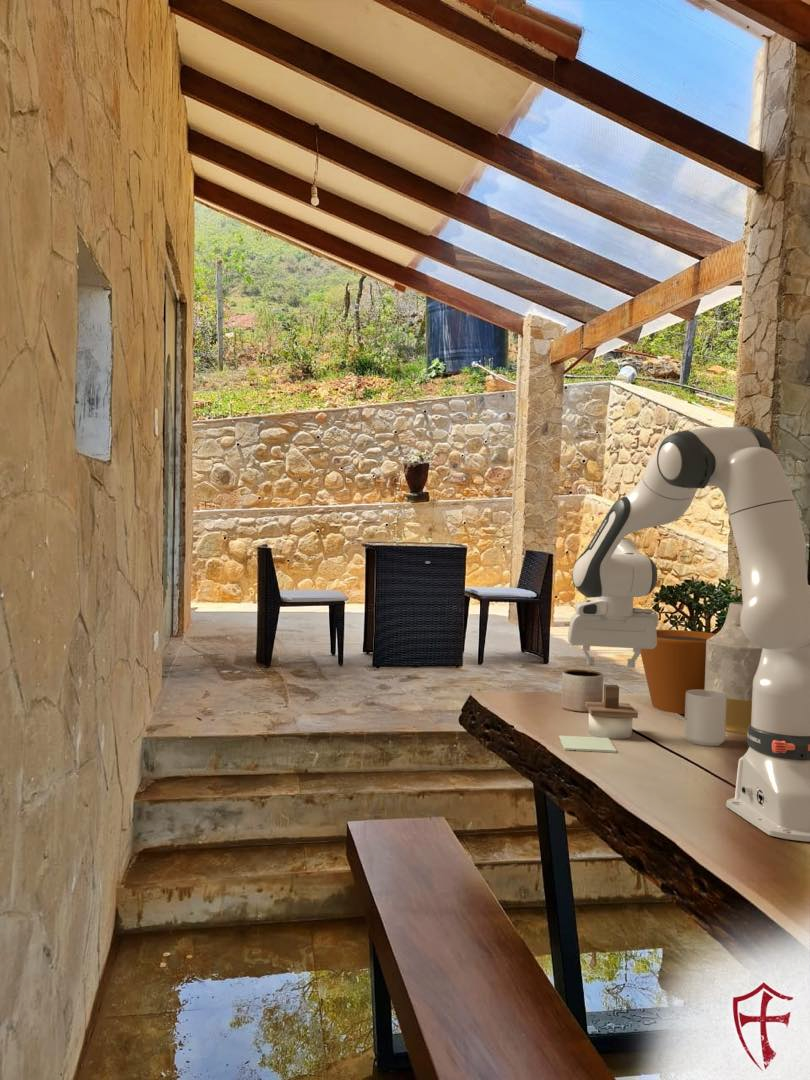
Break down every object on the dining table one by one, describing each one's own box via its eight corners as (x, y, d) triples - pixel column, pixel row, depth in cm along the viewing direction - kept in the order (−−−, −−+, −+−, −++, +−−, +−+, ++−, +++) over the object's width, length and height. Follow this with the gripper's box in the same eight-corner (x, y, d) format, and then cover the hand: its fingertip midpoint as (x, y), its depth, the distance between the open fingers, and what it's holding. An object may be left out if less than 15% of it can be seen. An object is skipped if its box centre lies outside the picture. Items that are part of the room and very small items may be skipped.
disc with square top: (635, 739, 194) (636, 718, 194) (591, 737, 195) (592, 715, 195) (627, 729, 204) (628, 708, 204) (585, 727, 205) (586, 706, 205)
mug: (726, 748, 189) (728, 698, 189) (685, 744, 191) (686, 695, 191) (721, 736, 201) (723, 689, 201) (682, 732, 203) (684, 686, 203)
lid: (637, 718, 194) (638, 691, 194) (591, 716, 195) (592, 689, 195) (628, 708, 204) (629, 682, 204) (585, 706, 205) (586, 680, 205)
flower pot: (616, 701, 237) (618, 630, 237) (684, 697, 246) (686, 628, 246) (674, 720, 215) (677, 642, 215) (746, 715, 224) (749, 639, 224)
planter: (552, 705, 229) (553, 670, 229) (585, 703, 234) (586, 668, 234) (577, 714, 220) (578, 677, 219) (611, 711, 224) (612, 675, 224)
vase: (744, 715, 224) (748, 600, 223) (799, 732, 207) (804, 607, 206) (687, 719, 217) (692, 600, 217) (740, 737, 200) (745, 607, 200)
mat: (616, 752, 182) (616, 750, 182) (564, 750, 183) (564, 747, 183) (607, 740, 193) (608, 737, 193) (559, 737, 194) (559, 735, 194)
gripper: (655, 607, 202) (652, 666, 202) (568, 603, 203) (565, 661, 203) (661, 610, 195) (658, 670, 196) (571, 606, 197) (569, 666, 197)
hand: (610, 666), depth 199 cm, fingers open, 8 cm apart
